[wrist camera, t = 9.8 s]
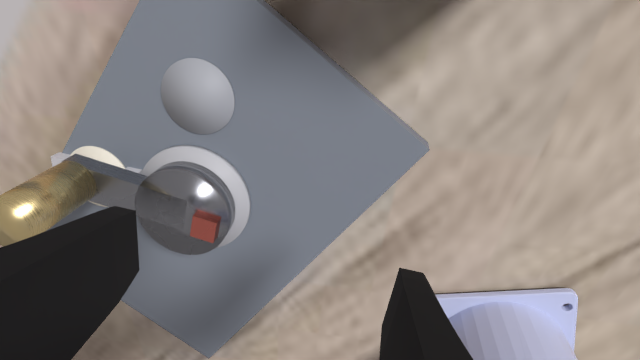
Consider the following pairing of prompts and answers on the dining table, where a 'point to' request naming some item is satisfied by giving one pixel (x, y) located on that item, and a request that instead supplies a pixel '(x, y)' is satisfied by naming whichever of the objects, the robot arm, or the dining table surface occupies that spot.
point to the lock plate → (238, 152)
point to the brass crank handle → (125, 201)
